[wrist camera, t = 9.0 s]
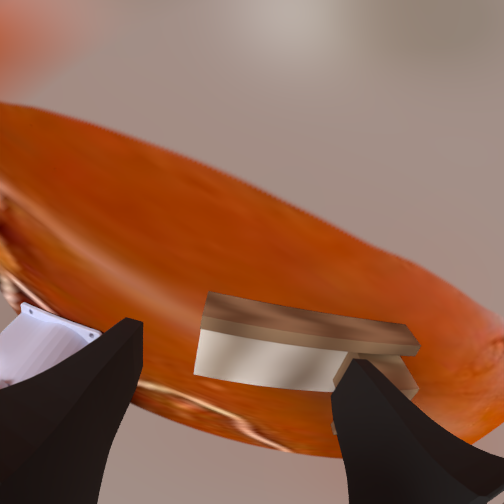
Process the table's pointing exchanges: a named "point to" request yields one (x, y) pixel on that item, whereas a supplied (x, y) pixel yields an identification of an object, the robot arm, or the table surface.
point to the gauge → (388, 366)
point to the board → (287, 343)
